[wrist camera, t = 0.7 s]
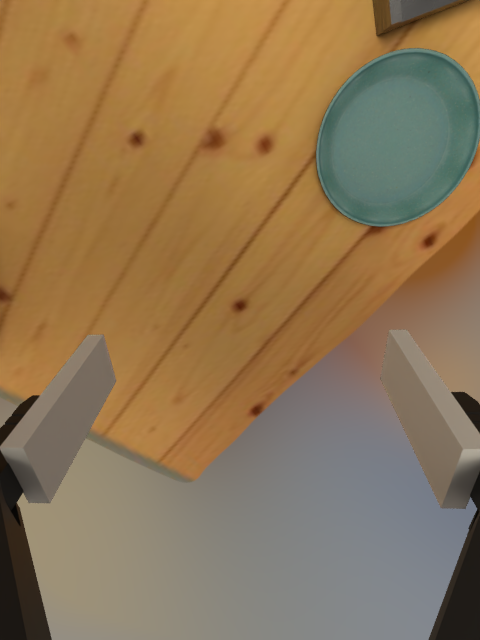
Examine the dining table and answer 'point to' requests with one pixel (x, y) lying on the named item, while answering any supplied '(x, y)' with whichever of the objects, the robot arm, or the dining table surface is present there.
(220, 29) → the dining table surface
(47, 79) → the dining table surface
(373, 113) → the saucer
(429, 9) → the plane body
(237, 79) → the dining table surface
